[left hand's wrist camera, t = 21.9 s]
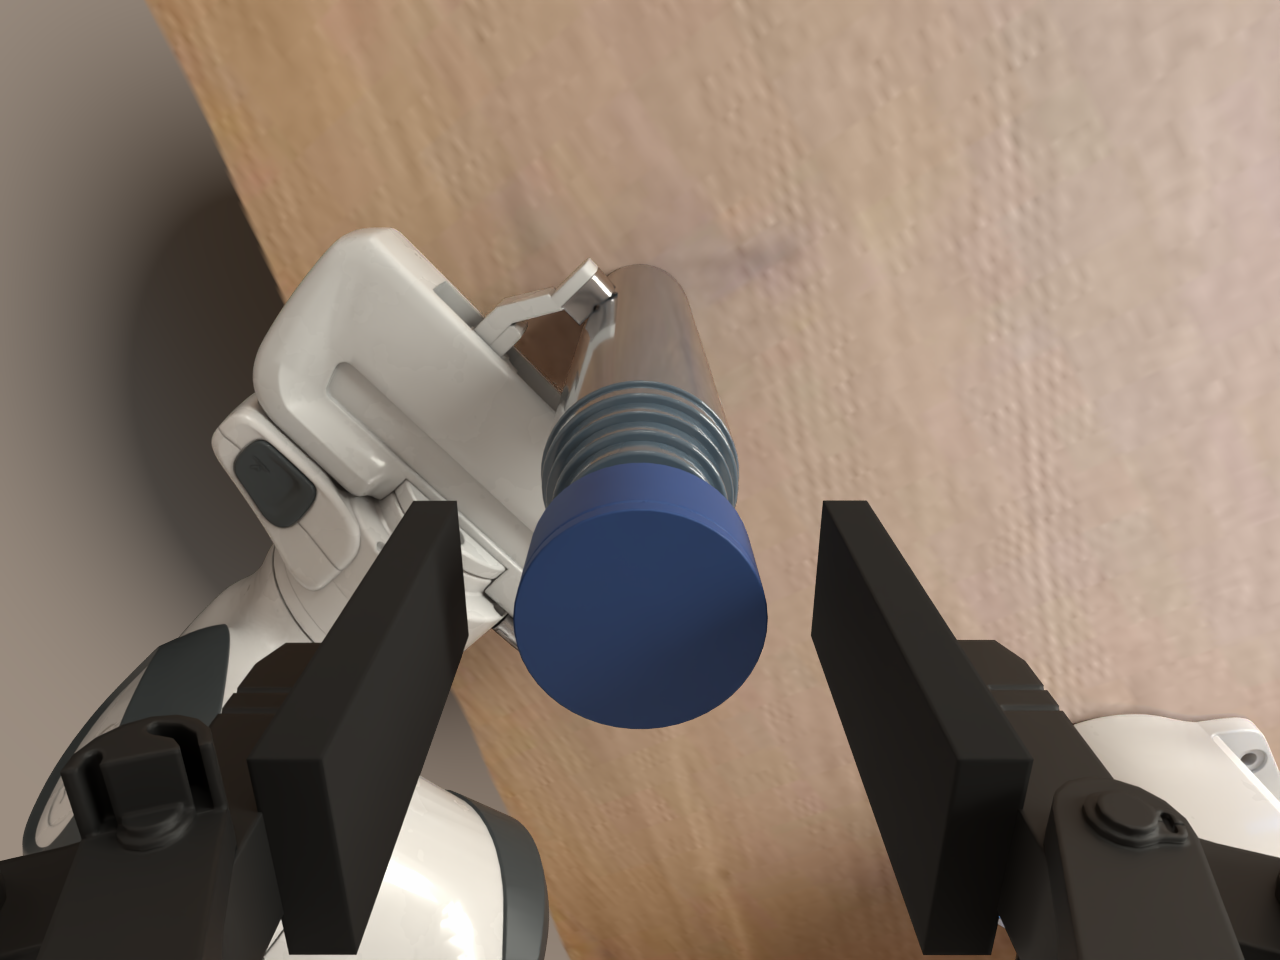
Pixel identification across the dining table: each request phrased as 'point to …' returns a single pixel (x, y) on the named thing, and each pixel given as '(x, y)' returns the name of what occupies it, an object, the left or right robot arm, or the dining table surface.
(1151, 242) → the dining table surface
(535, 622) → the cap
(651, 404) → the bottle
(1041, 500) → the dining table surface
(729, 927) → the dining table surface
